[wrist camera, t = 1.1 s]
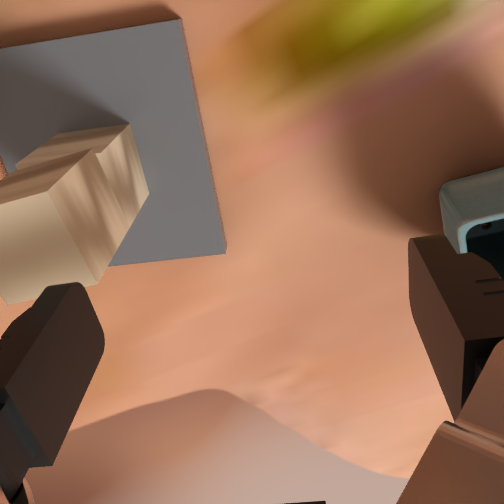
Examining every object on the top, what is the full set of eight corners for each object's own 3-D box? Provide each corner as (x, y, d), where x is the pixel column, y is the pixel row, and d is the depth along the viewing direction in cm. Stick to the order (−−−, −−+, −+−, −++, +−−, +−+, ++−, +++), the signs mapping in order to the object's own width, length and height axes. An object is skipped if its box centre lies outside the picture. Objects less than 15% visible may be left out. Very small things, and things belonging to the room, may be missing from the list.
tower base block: (57, 133, 32) (15, 164, 26) (129, 123, 31) (100, 152, 26) (81, 202, 34) (47, 242, 29) (149, 193, 34) (126, 233, 28)
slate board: (-32, 53, 30) (-43, 55, 29) (181, 18, 29) (177, 19, 28) (55, 264, 38) (49, 272, 37) (227, 245, 37) (225, 253, 36)
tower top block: (12, 171, 27) (-51, 218, 22) (92, 148, 26) (47, 191, 21) (55, 246, 29) (7, 305, 24) (129, 227, 28) (97, 284, 23)
